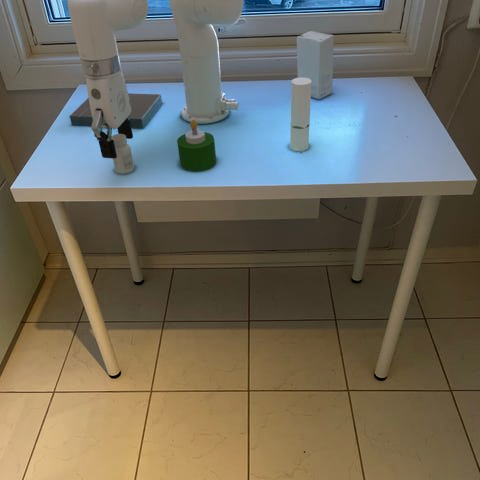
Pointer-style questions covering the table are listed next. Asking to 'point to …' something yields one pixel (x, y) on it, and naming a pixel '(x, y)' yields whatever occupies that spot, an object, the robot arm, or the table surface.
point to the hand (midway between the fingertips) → (118, 147)
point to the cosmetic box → (316, 61)
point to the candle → (196, 149)
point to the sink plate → (139, 116)
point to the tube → (300, 113)
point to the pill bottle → (122, 154)
